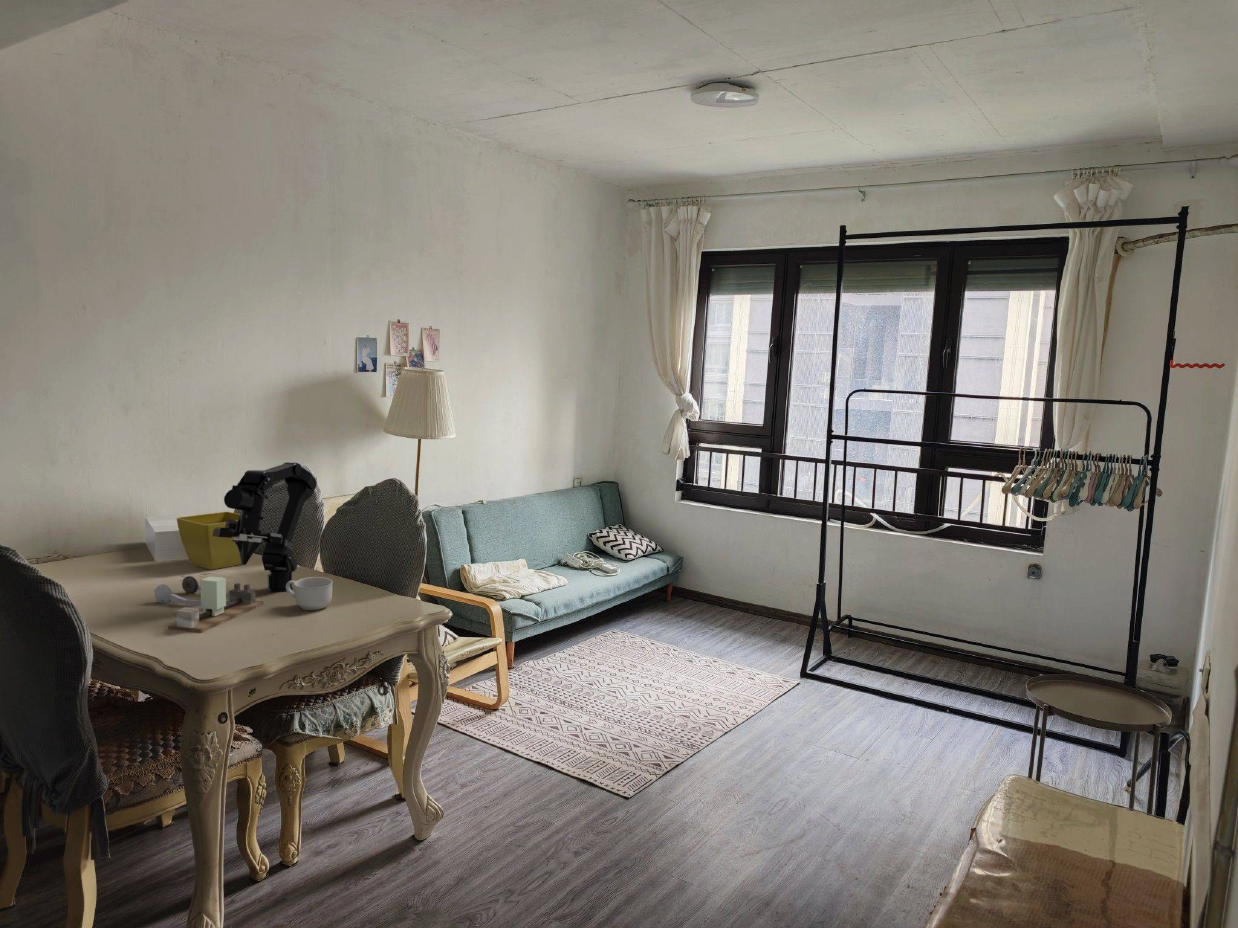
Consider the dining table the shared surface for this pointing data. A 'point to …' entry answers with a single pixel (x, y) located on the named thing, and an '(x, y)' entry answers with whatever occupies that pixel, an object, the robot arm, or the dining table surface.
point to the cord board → (234, 607)
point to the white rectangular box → (164, 538)
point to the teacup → (311, 592)
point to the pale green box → (213, 595)
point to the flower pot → (208, 540)
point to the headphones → (165, 595)
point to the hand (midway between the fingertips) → (243, 564)
